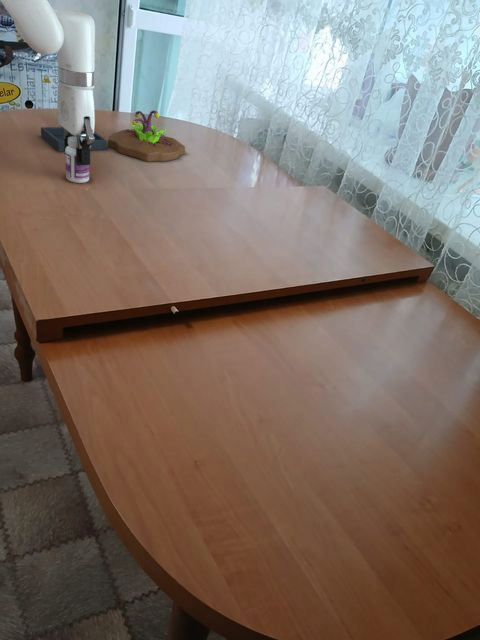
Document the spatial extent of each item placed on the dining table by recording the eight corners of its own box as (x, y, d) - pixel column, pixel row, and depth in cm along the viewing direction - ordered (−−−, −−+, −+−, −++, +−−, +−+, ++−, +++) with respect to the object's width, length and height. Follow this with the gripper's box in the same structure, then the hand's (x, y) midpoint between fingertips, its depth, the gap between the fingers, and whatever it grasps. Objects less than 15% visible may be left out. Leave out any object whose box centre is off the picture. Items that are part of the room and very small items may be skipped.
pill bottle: (91, 177, 134) (92, 138, 129) (85, 185, 130) (85, 144, 124) (69, 173, 134) (68, 133, 128) (62, 180, 130) (61, 139, 124)
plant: (152, 166, 148) (155, 124, 142) (97, 144, 154) (97, 102, 147) (194, 154, 163) (198, 115, 157) (143, 134, 169) (145, 95, 162)
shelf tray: (58, 151, 144) (58, 141, 142) (41, 136, 150) (40, 127, 149) (106, 149, 152) (106, 140, 150) (87, 135, 158) (87, 126, 157)
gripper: (43, 66, 121) (46, 147, 132) (77, 88, 112) (78, 174, 122) (75, 67, 126) (76, 146, 136) (111, 89, 116) (108, 172, 127)
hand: (77, 159), depth 129 cm, fingers closed on pill bottle, 5 cm apart
